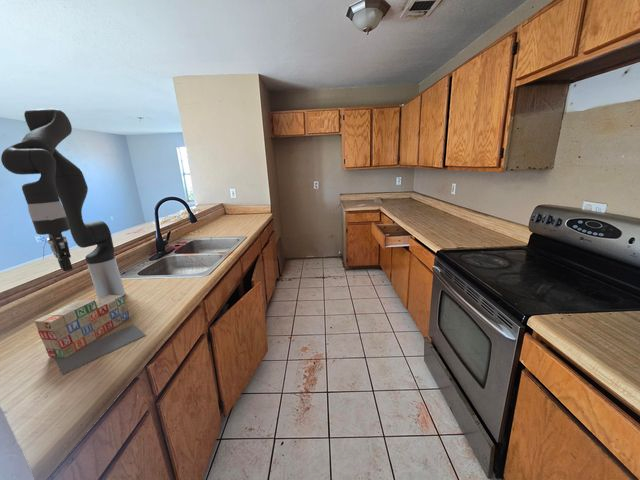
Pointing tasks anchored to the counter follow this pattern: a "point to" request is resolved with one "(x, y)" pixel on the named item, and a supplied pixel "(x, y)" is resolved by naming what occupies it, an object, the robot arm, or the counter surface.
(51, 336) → the stack of blocks
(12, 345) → the counter surface
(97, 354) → the mat
